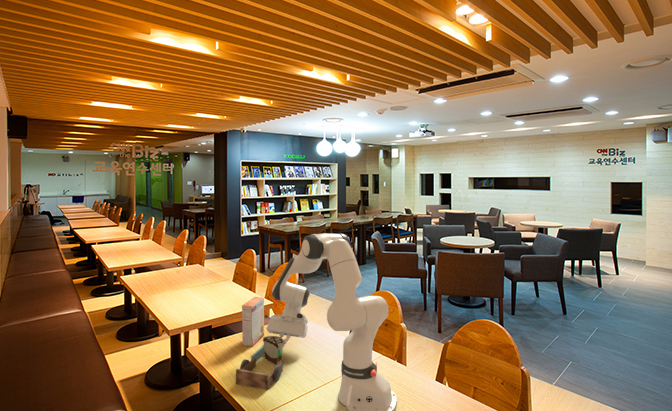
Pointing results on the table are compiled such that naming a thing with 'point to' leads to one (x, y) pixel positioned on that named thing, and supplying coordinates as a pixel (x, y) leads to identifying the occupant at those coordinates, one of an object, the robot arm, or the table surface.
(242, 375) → the cart bed
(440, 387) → the table surface
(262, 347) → the pale teal plank
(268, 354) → the food container
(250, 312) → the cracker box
